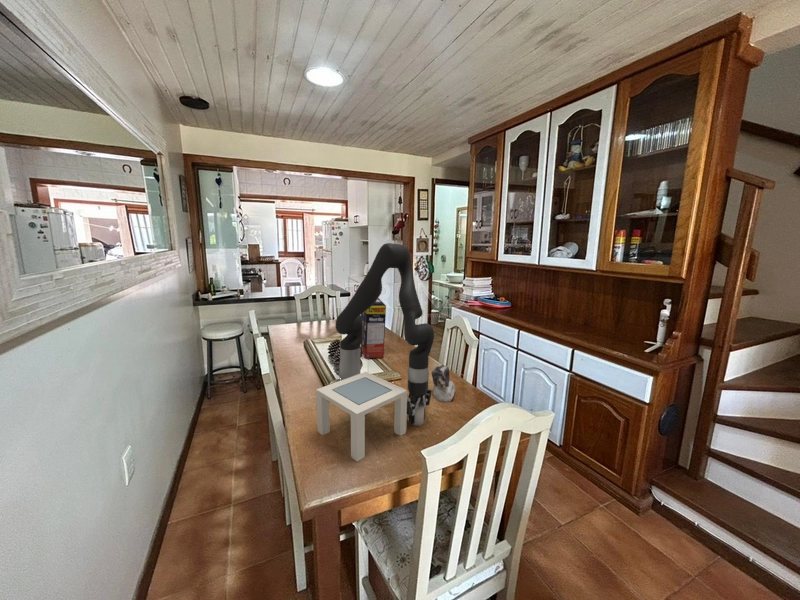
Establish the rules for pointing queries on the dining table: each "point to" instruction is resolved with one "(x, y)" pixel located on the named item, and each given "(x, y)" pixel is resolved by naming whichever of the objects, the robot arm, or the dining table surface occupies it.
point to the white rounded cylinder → (419, 414)
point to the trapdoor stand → (360, 410)
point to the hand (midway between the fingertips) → (416, 419)
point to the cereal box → (373, 330)
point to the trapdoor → (361, 391)
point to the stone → (442, 384)
